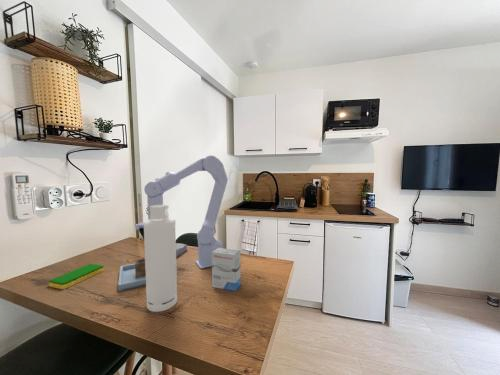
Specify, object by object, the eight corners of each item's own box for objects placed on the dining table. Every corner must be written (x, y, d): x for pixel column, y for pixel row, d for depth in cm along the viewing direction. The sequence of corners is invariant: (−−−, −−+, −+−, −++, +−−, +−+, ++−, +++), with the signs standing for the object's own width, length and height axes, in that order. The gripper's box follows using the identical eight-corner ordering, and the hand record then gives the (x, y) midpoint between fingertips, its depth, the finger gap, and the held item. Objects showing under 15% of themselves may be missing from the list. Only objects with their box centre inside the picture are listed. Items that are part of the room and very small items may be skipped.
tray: (160, 263, 86) (160, 258, 86) (165, 280, 72) (165, 274, 72) (120, 271, 79) (120, 266, 79) (118, 291, 65) (118, 285, 65)
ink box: (241, 284, 70) (241, 249, 69) (235, 291, 65) (235, 255, 64) (218, 280, 72) (218, 246, 72) (211, 287, 68) (210, 251, 67)
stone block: (155, 262, 92) (175, 259, 90) (153, 251, 92) (173, 248, 90) (171, 253, 104) (189, 250, 102) (169, 243, 104) (187, 241, 102)
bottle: (153, 295, 63) (150, 204, 62) (180, 293, 64) (178, 203, 62) (141, 312, 55) (137, 208, 54) (172, 310, 56) (169, 208, 54)
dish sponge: (104, 271, 80) (104, 265, 80) (63, 290, 67) (63, 283, 67) (90, 269, 82) (90, 263, 82) (48, 287, 69) (48, 280, 69)
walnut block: (147, 270, 78) (147, 257, 78) (148, 275, 75) (147, 261, 75) (135, 273, 76) (135, 259, 76) (135, 278, 73) (135, 263, 73)
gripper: (135, 215, 77) (137, 250, 78) (176, 211, 84) (177, 244, 85) (135, 212, 83) (136, 245, 84) (173, 208, 90) (174, 239, 91)
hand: (156, 244), depth 85 cm, fingers open, 7 cm apart
